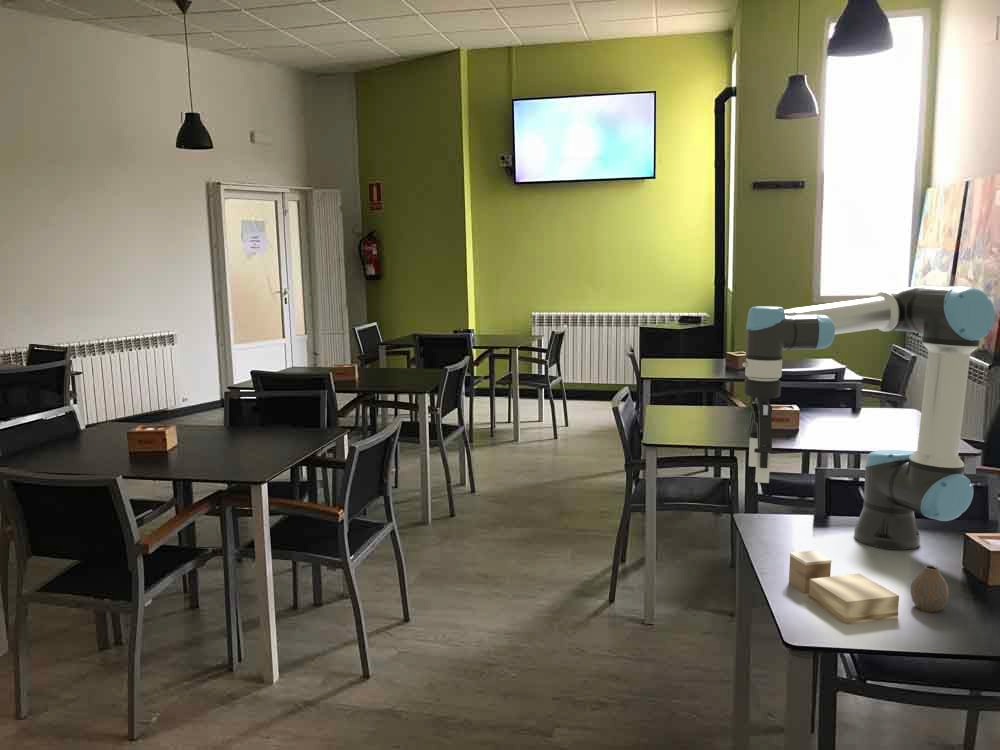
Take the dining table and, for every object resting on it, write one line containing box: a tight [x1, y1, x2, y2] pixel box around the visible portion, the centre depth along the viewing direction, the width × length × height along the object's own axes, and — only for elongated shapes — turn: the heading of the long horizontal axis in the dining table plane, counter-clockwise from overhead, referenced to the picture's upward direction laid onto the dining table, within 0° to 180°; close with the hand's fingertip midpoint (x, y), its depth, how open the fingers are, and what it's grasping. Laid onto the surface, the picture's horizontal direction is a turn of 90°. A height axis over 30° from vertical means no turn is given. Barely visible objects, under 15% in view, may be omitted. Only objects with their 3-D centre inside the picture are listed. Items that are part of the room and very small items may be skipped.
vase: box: [910, 564, 950, 613], centre depth 171 cm, size 7×7×9 cm
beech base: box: [808, 573, 900, 625], centre depth 171 cm, size 12×12×5 cm
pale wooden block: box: [788, 549, 832, 595], centre depth 182 cm, size 6×6×7 cm
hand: (758, 474), depth 183 cm, fingers open, 13 cm apart
